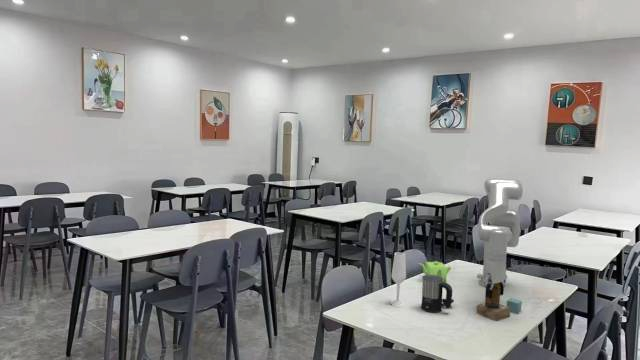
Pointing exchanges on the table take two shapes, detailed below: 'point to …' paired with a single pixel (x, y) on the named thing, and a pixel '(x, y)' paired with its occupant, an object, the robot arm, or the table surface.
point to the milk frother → (435, 294)
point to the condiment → (494, 298)
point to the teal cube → (514, 305)
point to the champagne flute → (398, 274)
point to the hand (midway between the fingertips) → (494, 295)
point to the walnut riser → (493, 312)
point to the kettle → (436, 269)
